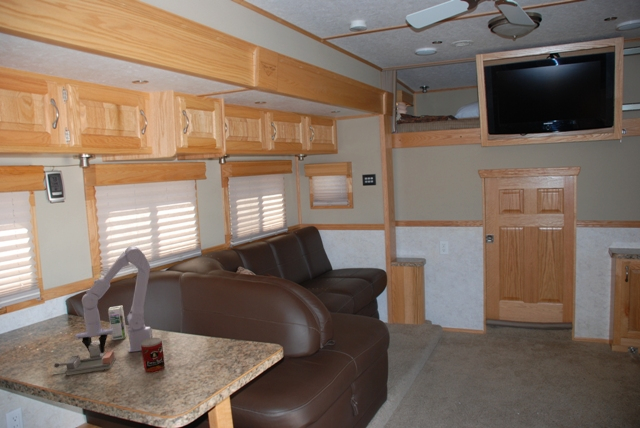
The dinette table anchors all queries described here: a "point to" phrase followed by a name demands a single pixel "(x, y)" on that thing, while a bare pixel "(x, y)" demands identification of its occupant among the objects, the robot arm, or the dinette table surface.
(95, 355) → the aluminium block
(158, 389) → the dinette table surface
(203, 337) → the dinette table surface
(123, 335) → the syrup box
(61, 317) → the dinette table surface
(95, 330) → the robot arm
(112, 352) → the block
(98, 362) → the vise base
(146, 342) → the canned food
